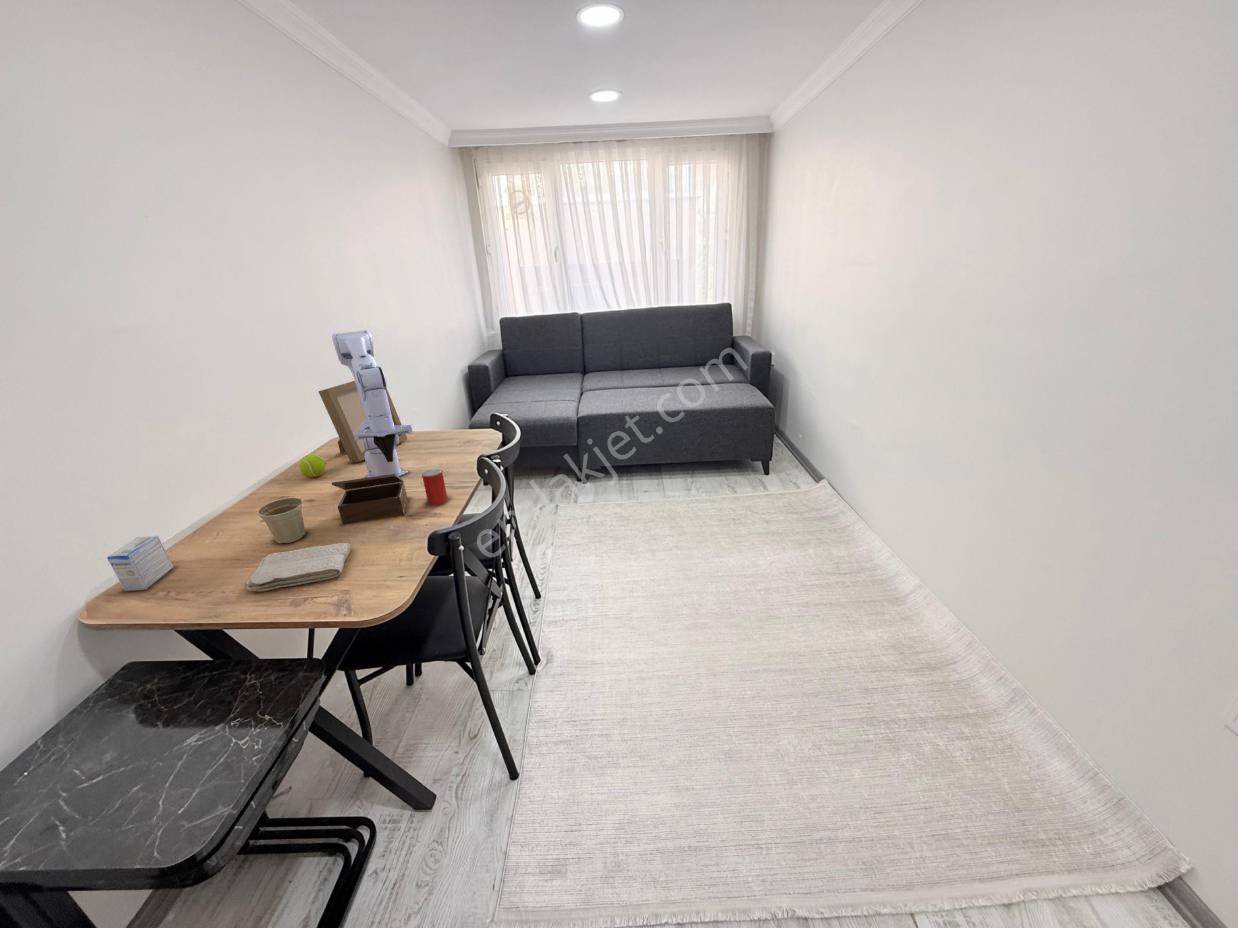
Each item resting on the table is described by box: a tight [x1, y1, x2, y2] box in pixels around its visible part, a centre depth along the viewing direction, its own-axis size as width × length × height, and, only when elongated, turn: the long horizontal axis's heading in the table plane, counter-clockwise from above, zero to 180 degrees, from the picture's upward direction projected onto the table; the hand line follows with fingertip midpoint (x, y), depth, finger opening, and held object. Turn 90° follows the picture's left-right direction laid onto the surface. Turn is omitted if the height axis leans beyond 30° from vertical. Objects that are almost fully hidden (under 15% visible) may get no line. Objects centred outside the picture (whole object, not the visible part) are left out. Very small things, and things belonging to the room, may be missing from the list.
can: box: [421, 468, 449, 507], centre depth 134 cm, size 5×5×9 cm
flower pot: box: [256, 496, 306, 544], centre depth 119 cm, size 9×9×9 cm
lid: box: [331, 474, 405, 491], centre depth 128 cm, size 10×15×1 cm
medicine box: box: [106, 535, 174, 592], centre depth 105 cm, size 8×4×9 cm, turn 5°
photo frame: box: [318, 380, 408, 464], centre depth 169 cm, size 15×22×25 cm
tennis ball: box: [298, 454, 327, 478], centre depth 153 cm, size 7×7×7 cm
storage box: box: [337, 482, 409, 526], centre depth 130 cm, size 10×15×5 cm, turn 106°
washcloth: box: [245, 542, 352, 592], centre depth 107 cm, size 12×18×3 cm, turn 107°
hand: (390, 460), depth 136 cm, fingers closed
